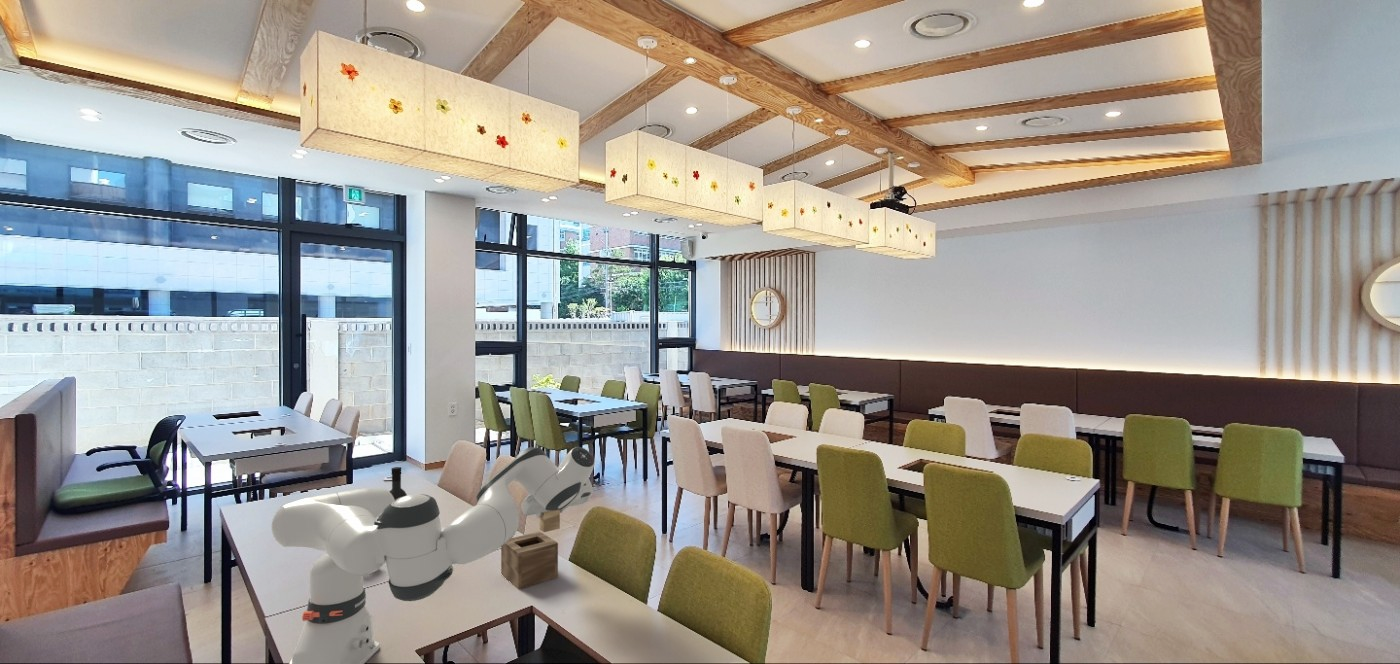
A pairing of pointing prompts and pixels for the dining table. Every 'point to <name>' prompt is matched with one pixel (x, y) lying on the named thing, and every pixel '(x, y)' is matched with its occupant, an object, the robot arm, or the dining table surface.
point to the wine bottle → (397, 484)
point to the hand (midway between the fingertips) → (548, 513)
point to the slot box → (529, 559)
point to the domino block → (550, 521)
